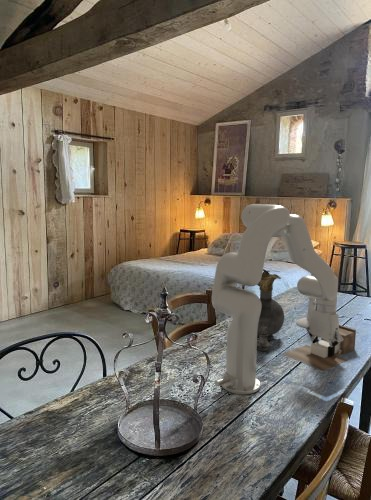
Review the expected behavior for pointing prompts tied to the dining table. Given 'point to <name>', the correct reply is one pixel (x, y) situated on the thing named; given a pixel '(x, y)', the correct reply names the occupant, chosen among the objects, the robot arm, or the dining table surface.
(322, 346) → the soap bar
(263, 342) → the salt shaker
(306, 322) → the candlestick
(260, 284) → the pitcher
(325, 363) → the open wooden box
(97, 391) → the dining table surface
